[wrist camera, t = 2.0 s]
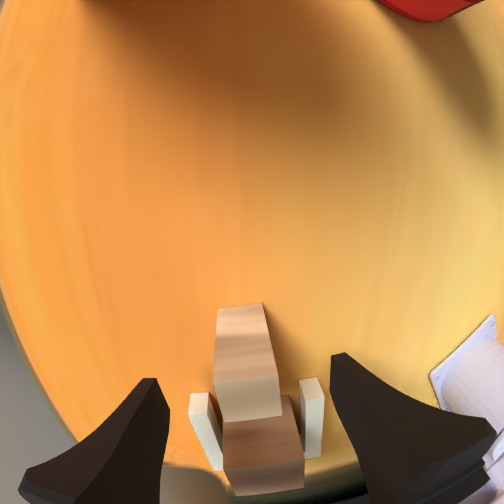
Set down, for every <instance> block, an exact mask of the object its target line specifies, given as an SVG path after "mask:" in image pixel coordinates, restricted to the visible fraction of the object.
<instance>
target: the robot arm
mask: <svg viewBox="0 0 504 504" xmlns="http://www.w3.org/2000/svg"><path fill="white" fill-rule="evenodd" d="M429 377H430V380H431V382H432V385H433V388H434V390H435V393H436V396H437V398H438V401H439V404H440V407H441V409H438V408H436V407H433V406H430V405H427V404H425V403H422V402H420V401H418V400H415V399H413V398H411V397H409V396H407V395H405V394H403V393H401V392H400V391H398V390H396V389H395V388H393V387H391V386H390V385H388V384H387V383H385V382H384V381H382V380H381V379H379V378H378V377H376V376H375V375H374V374H372V373H371V372H370V371H368V370H367V369H366V368H364V367H363V366H362V365H361V364H359V363H358V362H357V361H356V360H354V359H353V358H352V357H351V356H349V355H348V354H347V353H345V352H344V353H340V354H336V355H331V371H330V393H331V396H332V400H333V403H334V406H335V409H336V411H337V413H338V416H339V418H340V420H341V422H342V424H343V426H344V428H345V430H346V432H347V434H348V437H349V439H350V441H351V443H352V445H353V447H354V449H355V452H356V454H357V457H358V460H359V463H360V466H361V469H362V472H363V476H364V479H365V483H366V486H367V490H368V494H369V497H370V501H371V504H504V345H502V344H501V343H500V342H499V341H498V340H497V332H496V321H495V316H494V315H493V314H491V315H489V316H488V317H487V319H486V320H485V321H484V322H483V323H482V324H481V325H480V326H479V327H478V328H477V329H476V330H475V331H474V332H473V333H472V334H471V335H470V336H469V337H468V338H467V339H466V340H465V341H464V342H463V343H462V344H461V345H460V346H459V347H458V348H457V349H456V350H455V351H454V352H453V353H452V354H451V355H450V356H448V357H447V358H446V359H445V360H444V361H443V362H442V363H441V364H439V365H438V366H437V367H436V368H435V369H434V370H432V371H431V373H430V375H429ZM452 411H453V412H454V413H453V412H452ZM169 423H170V409H169V407H168V404H167V402H166V400H165V398H164V395H163V393H162V391H161V389H160V386H159V384H158V382H157V379H156V378H143V379H142V380H141V381H140V382H139V383H138V384H137V386H136V387H135V388H134V389H133V390H132V391H131V393H130V394H129V395H128V396H127V397H126V399H125V400H124V401H123V402H122V403H121V404H120V405H119V407H118V408H117V409H116V410H115V411H114V412H113V413H112V414H111V415H110V416H109V417H108V418H107V419H106V420H105V421H104V422H103V423H102V424H101V425H100V426H99V427H98V428H97V429H96V430H95V431H94V432H92V433H91V434H90V435H89V436H87V437H86V438H85V439H84V440H82V441H81V442H79V443H78V444H76V445H75V446H73V447H72V448H71V449H69V450H68V451H66V452H64V453H62V454H61V455H59V456H57V457H55V458H53V459H51V460H49V461H47V462H45V463H42V464H39V465H37V466H34V467H31V468H28V469H27V470H26V472H25V474H24V477H23V479H22V481H21V483H20V486H19V488H18V491H19V494H20V495H21V496H22V497H23V498H24V499H25V500H27V501H28V502H29V503H30V504H160V502H159V501H160V500H159V496H160V495H159V494H160V476H161V469H162V464H163V459H164V454H165V449H166V443H167V438H168V433H169ZM485 453H486V454H485ZM484 454H485V456H484ZM483 456H484V457H483ZM482 457H483V458H482ZM483 466H484V467H483Z"/></svg>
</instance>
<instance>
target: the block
mask: <svg viewBox="0 0 504 504" xmlns="http://www.w3.org/2000/svg"><path fill="white" fill-rule="evenodd" d="M213 386H214V390H215V393H216V397H217V400H218V403H219V406H220V410H221V413H222V416H223V470H224V472H225V474H226V476H227V478H228V480H229V482H230V484H231V486H232V488H233V490H234V492H235V494H236V496H243V495H255V494H264V493H272V492H279V491H286V490H292V489H297V488H303V487H304V464H305V458H304V454H303V450H302V446H301V442H300V438H299V434H298V430H297V426H296V422H295V418H294V414H293V410H292V406H291V402H290V398H289V395H284V396H280V388H279V378H278V372H277V367H276V363H275V359H274V354H273V350H272V345H271V341H270V337H269V332H268V328H267V323H266V319H265V314H264V310H263V306H262V303H257V304H250V305H243V306H235V307H228V308H220V309H218V314H217V327H216V340H215V354H214V369H213Z"/></svg>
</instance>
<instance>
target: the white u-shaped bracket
mask: <svg viewBox="0 0 504 504" xmlns="http://www.w3.org/2000/svg"><path fill="white" fill-rule="evenodd" d="M299 391H300V427H301V434H299V438H300V442H301V446H302V450H303V454H304V458H305V460H306V459H311V458H316V457H320V453H321V442H322V430H323V416H324V399H325V397H324V394H323V391H322V389H321V386H320V384H319V381H318V379H317V377H313V378H309V379H303V380H299ZM188 416H189V418H190V421H191V423H192V425H193V428H194V430H195V432H196V434H197V436H198V439H199V441H200V443H201V445H202V447H203V449H204V451H205V453H206V455H207V458H208V460H209V462H210V464H211V466H212V467H213V469H214V470H223V434H222V432H221V429H220V426H219V423H218V420H217V417H216V414H215V411H214V408H213V405H212V402H211V399H210V396H209V393H208V392H206V393H191V396H190V403H189V410H188Z"/></svg>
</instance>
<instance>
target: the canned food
mask: <svg viewBox="0 0 504 504" xmlns="http://www.w3.org/2000/svg"><path fill="white" fill-rule="evenodd" d="M378 1H380V2H381V3H382V4H384V5H385V6H387V7H388V8H390V9H391V10H393V11H395V12H397V13H398V14H400V15H402V16H404V17H407V18H409V19H412V20H415V21H419V22H427V23H428V22H437V21H442V20H444V19H446V18H448V17H450V16H452V15H454V14H456V13H458V12H460V11H462V10H464V9H466V8H468V7H471V6H473V5H475V4H477V3H479V2H481V1H484V0H378Z"/></svg>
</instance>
